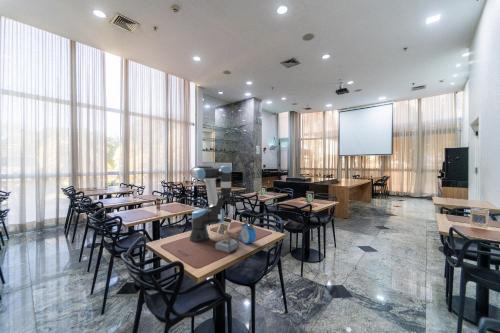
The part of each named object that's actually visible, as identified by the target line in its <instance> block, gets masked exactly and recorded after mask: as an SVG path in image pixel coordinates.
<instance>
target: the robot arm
mask: <svg viewBox="0 0 500 333" xmlns="http://www.w3.org/2000/svg"><path fill="white" fill-rule="evenodd" d="M189 175H190V176H191V178H193V179H197V180H203V182H204V183H205V189H206V193H207V195H206V196H207V202H208V207H207V209H206V208H198V209H195V210H193V211H192V212H191V231H190V235H189V240H190V241H191V242H196V243H197V242H198V243H200V242H205V241H207V240H209V239H210V234H209V231H208V228H207V226H209V225H216V224H217V225H219V224H222V223H223V222H224V221H225V217H226V214H225V212H226V211H225V209H224V208H223V205H224V203H225V202H227V201H228V203H229V215H231V216H234V210H235V208H234V207H235V206H236V201H235V197H234V193H233V192H232V166H230V165H221V166H220V167H219V168H218V167H216V166H214V165H195V166H193V167H192V168H191V169H190V171H189ZM217 179H220V193H221V194H219V195H218V190H217V185H216V180H217Z"/></svg>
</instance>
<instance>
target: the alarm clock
mask: <svg viewBox="0 0 500 333" xmlns="http://www.w3.org/2000/svg"><path fill="white" fill-rule="evenodd" d="M241 227H243V229H242V230H240V231H239V239H240V240H241V242H242V243H244V244H245V245H246V244H247V245H249V244H251V243H253V242H255V240H256V238H257V237H256V236H257V233H256V230H255V228H254V225H253V224H251V223H248V222H245V221H244V222H242V224H241Z"/></svg>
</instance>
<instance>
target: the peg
mask: <svg viewBox="0 0 500 333" xmlns="http://www.w3.org/2000/svg"><path fill="white" fill-rule="evenodd" d="M223 235H224V236H223V238H224V239H223V240H224V243H225V244H227V243H228V230H224V231H223Z"/></svg>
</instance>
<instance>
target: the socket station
mask: <svg viewBox="0 0 500 333" xmlns="http://www.w3.org/2000/svg"><path fill="white" fill-rule="evenodd" d="M242 229H243V227H242V226H236V227H233V228H231V229H228V230H227V231H228V243H227V244H225V243H224V239H221V240H219V241H218V242H216V243H215V246H214V248H215V250H216V251H217V250H218V251H220V252H223V253H228V254H231V252H233V251H234V250H236V249H238V248H240V235H239V231H240V230H242ZM235 233H236V240H234V239H231V234H235Z"/></svg>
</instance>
